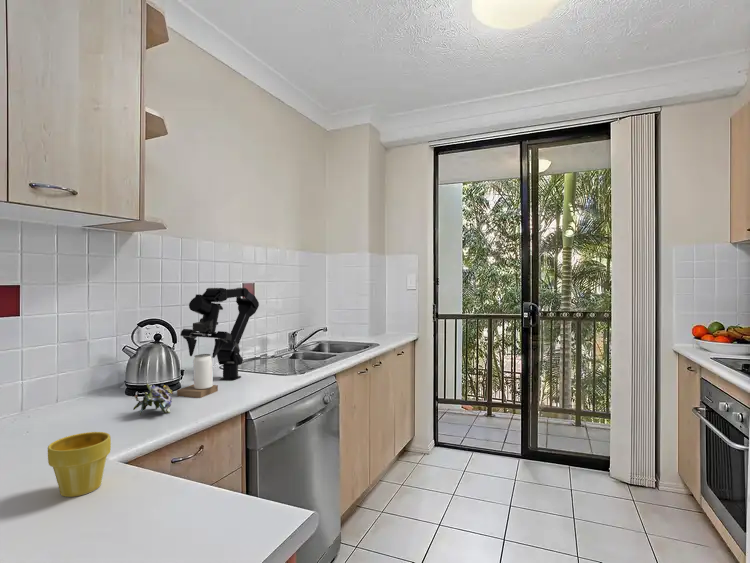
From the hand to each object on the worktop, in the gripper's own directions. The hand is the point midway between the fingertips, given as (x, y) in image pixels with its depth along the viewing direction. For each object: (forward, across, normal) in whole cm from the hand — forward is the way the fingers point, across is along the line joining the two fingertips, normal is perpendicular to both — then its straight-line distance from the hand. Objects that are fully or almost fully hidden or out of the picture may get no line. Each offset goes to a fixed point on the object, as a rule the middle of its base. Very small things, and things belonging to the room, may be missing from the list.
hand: (202, 356), depth 167 cm
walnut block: (+15, +3, -2) cm, 15 cm away
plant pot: (+37, +18, -72) cm, 83 cm away
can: (+12, +5, -3) cm, 13 cm away
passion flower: (+22, +2, -26) cm, 34 cm away
